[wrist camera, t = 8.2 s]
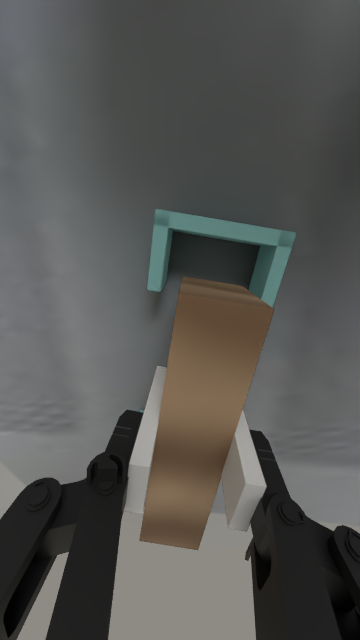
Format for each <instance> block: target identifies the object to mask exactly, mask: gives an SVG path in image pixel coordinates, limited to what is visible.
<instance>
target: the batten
mask: <svg viewBox="0 0 360 640" xmlns="http://www.w3.org/2000/svg"><path fill="white" fill-rule="evenodd" d="M273 312H274V308H272V307H271V306H269V305H268V304H267V303H265V302H264V301H263V300H261V299H260V298H258V297H257V296H256V295H254V294H253V293H252V292H250V291H249V290H247V289H246V288H245V287H243V286H240V285H234V284H228V283H222V282H216V281H210V280H204V279H198V278H192V277H186V276H183V279H182V283H181V286H180V290H179V294H178V300H177V306H176V313H175V319H174V325H173V332H172V338H171V344H170V351H169V357H168V363H167V370H166V376H165V382H164V389H163V395H162V401H161V408H160V414H159V420H158V421H159V422H158V428H157V434H156V441H155V447H154V453H153V459H152V465H151V471H150V477H149V484H148V490H147V496H146V503H145V509H144V516H143V522H142V528H141V534H140V541H144V542H150V543H157V544H163V545H169V546H175V547H181V548H188V549H194V550H198V548H199V545H200V542H201V539H202V536H203V533H204V530H205V526H206V523H207V520H208V517H209V514H210V511H211V508H212V504H213V501H214V498H215V495H216V492H217V489H218V485H219V482H220V479H221V474H222V471H223V468H224V465H225V462H226V459H227V456H228V453H229V449H230V446H231V443H232V440H233V437H234V434H235V432H236V429H237V426H238V422H239V419H240V416H241V413H242V410H243V407H244V404H245V400H246V397H247V394H248V391H249V388H250V385H251V382H252V378H253V375H254V372H255V369H256V366H257V363H258V359H259V356H260V353H261V350H262V347H263V344H264V341H265V337H266V334H267V331H268V328H269V325H270V322H271V319H272V315H273Z"/></svg>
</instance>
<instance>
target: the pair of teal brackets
mask: <svg viewBox="0 0 360 640" xmlns="http://www.w3.org/2000/svg"><path fill="white" fill-rule="evenodd" d="M173 231H176V232H182V233H188V234H194V235H200V236H206V237H212V238H217V239H223V240H229V241H235V242H241V243H247V244H253V245H259V246H260V249H259V253H258V256H257V260H256V264H255V267H254V271H253V275H252V278H251V282H250V286H249V289H248V290H249V291H250V292H252V293H253V294H254V295H256V296H257V297H258V298H260V299H261V300H263V301H264V302H265V303H267V304H268V305H269V306H271V307H272V308H273V305H274V302H275V299H276V296H277V292H278V289H279V286H280V283H281V280H282V277H283V274H284V271H285V268H286V265H287V261H288V258H289V255H290V252H291V249H292V246H293V243H294V240H295V237H296V234H297V233H296V232H290V231H284V230H278V229H272V228H266V227H260V226H255V225H249V224H243V223H237V222H231V221H225V220H219V219H213V218H207V217H201V216H195V215H190V214H184V213H178V212H172V211H166V210H160V209H155V219H154V228H153V237H152V247H151V256H150V266H149V275H148V285H147V290H151V291H157V292H160V291H161V290H162V288H163V287H164V286H165V284H166V279H167V272H168V265H169V257H170V250H171V243H172V235H173ZM139 412H143V413H144V410H140V411H139ZM149 477H150V476H149Z"/></svg>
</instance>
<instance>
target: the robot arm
mask: <svg viewBox="0 0 360 640" xmlns="http://www.w3.org/2000/svg"><path fill="white" fill-rule="evenodd" d="M166 370H167V367H162V366H157V369H156V372H155V376H154V379H153V383H152V386H151V389H150V393H149V396H148V400H147V403H146V407H145V410H144V413H143V412H137V411H131V410H126V411H125V412H124V413H123V414H122V415H121V416H120V417H119V419H118V422H117V424H116V427H115V429H114V431H113V434H112V436H111V438H110V441H109V443H108V445H107V448H106V450H105V452H103V453H101V454H99V455H97V456H96V457H95V458H94V459H93V460H92V461H91V462H90V464H89V466H88V468H87V478H85V479H84V480H81V481H78V482H74V483H68V484H63V485H60V483H59V482H58V481H57V480H56V479H54V478H42V479H39V480H36V481H34V482H33V483H31V484H30V485H28V486H27V487H26V488H25V489H24V490H23V491H22V492H21V493H20V494H19V496H18V497H17V498H16V499H15V501H14V502H13V503H12V505H11V506H10V508H9V509H8V510H7V511H6V513H5V514H4V515H3V517H2V518H1V519H0V640H16V639H17V637H18V635H19V633H20V631H21V629H22V627H23V625H24V623H25V621H26V619H27V616H28V614H29V612H30V610H31V608H32V606H33V604H34V602H35V600H36V598H37V596H38V594H39V592H40V590H41V588H42V586H43V584H44V581H45V579H46V577H47V575H48V573H49V571H50V569H51V567H52V565H53V563H54V561H55V559H56V556H57V555H59V554H62V553H66V552H69V554H68V558H67V562H66V565H65V569H64V573H63V576H62V580H61V584H60V588H59V592H58V595H57V599H56V603H55V607H54V610H53V614H52V618H51V621H50V625H49V629H48V633H47V637H46V640H108V635H109V624H110V617H111V607H112V599H113V590H114V581H115V572H116V563H117V554H118V545H119V536H120V525H121V519H122V515H123V511H125V512H132V513H138V514H143V509H144V503H145V498H146V492H147V487H148V482H149V476H150V471H151V465H152V459H153V453H154V447H155V441H156V434H157V428H158V422H159V421H158V420H159V414H160V408H161V401H162V395H163V389H164V382H165V376H166ZM275 460H276V459H275V457H274V454H273V453H272V449H271V447H270V444H269V441H268V440H267V439H266V437H265V436H264V435H263V434H262V432H260V431H254V430H249V428H248V425H247V422H246V418H245V415H244V412H243V410H242V413H241V416H240V419H239V422H238V426H237V429H236V432H235V434H234V437H233V440H232V443H231V446H230V449H229V453H228V456H227V459H226V462H225V465H224V468H223V471H222V474H221V476H222V484H223V492H224V500H225V508H226V516H227V523H228V528H229V529H234V530H241V531H246V532H247V530H248V527H249V525H250V523H251V528H252V533H253V539H252V540H251V543H250V545H249V547H248V549H247V551H246V557H245V560H247V561H248V560H249V558H250V556H251V564H252V565H251V566H252V579H253V597H254V613H255V628H256V640H360V534H359V533H358V532H356V531H355V530H353V529H352V528H350V527H347V526H343V525H342V526H337V527H336V529H335V530H334V531H332V530H330V529H328V528H326V527H324V526H322V525H320V524H319V523H317V522H315V521H313V520H311V519H310V518H308V517H307V516H306V515H305V513H304V512H303V511H302V509H301V508H300V506H299V505H298V504H297V503H296V502H294V501H293V500H292V499H291V497H290V495H289V493H288V490H287V488H286V485H285V483H284V480H283V477H282V475H281V472H280V470H279V467H278V465H277V462H276V461H275Z"/></svg>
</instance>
